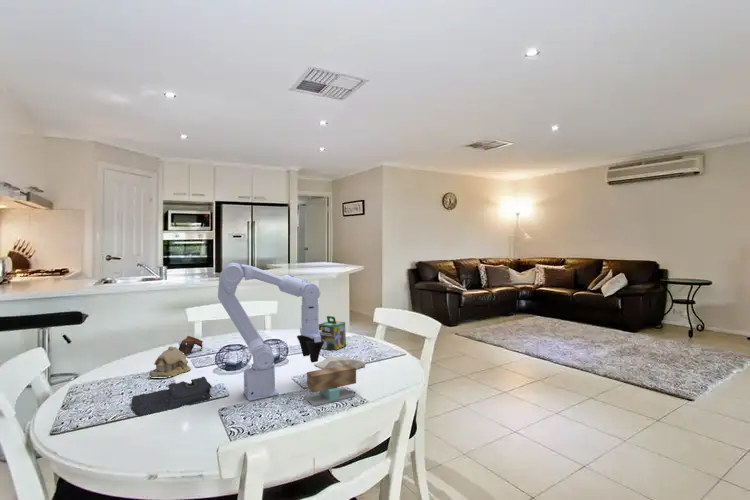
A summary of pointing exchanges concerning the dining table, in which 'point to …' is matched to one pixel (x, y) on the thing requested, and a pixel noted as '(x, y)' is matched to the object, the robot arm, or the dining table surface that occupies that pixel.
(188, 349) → the brown curved piece
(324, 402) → the board
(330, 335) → the chalk box
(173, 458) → the dining table surface
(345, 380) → the walnut bar
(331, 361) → the rock
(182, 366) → the ceramic model
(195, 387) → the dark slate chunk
